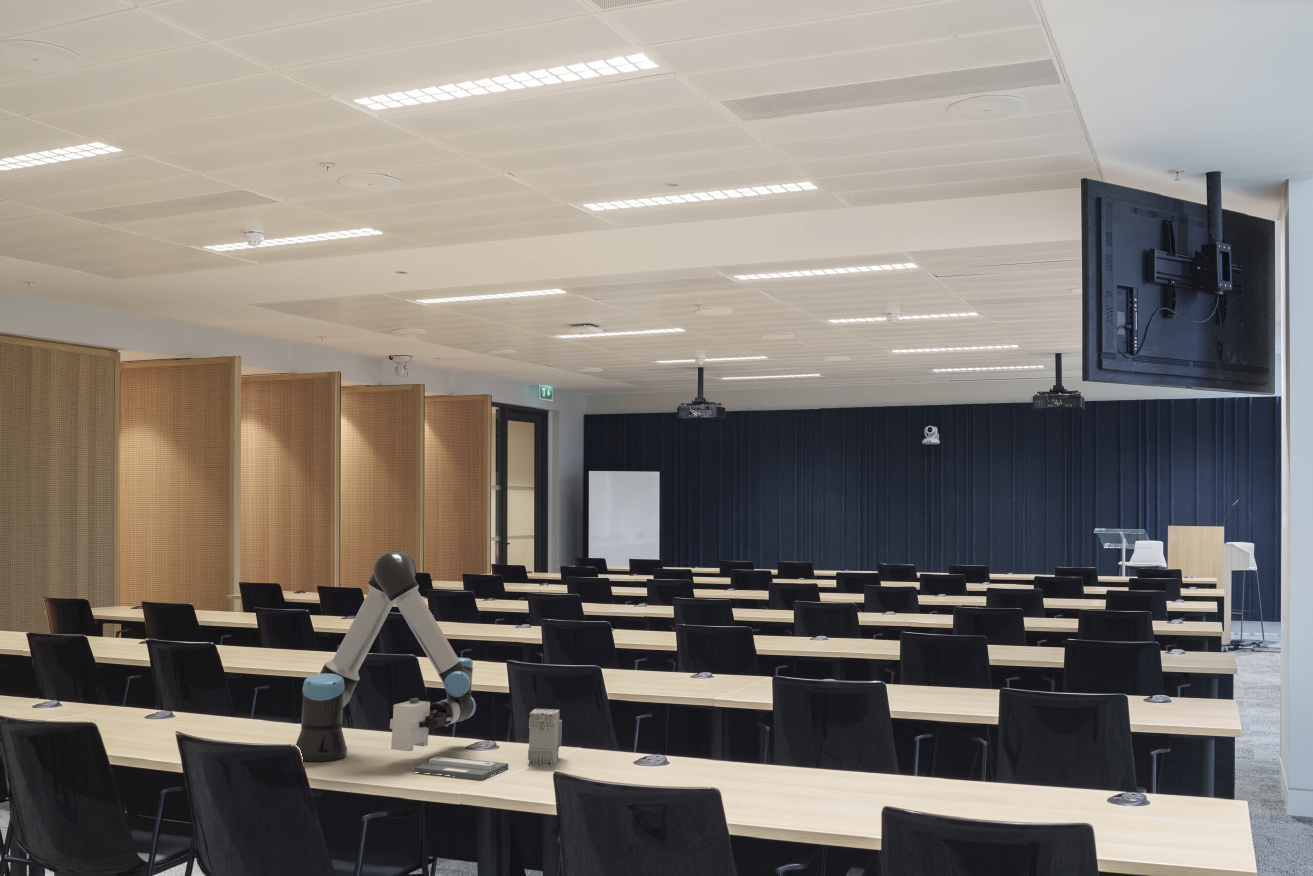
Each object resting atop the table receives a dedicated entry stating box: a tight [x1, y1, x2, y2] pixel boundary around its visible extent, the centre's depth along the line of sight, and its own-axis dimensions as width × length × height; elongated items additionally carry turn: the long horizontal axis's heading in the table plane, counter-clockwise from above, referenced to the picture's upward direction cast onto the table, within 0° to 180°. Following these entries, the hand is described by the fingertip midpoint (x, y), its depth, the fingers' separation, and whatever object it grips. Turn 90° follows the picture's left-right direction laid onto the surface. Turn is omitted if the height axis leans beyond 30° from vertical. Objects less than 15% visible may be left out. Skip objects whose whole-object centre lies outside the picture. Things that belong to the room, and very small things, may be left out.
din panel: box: [414, 756, 509, 781], centre depth 310 cm, size 21×16×3 cm
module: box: [390, 697, 431, 752], centre depth 317 cm, size 6×10×14 cm, turn 161°
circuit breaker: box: [527, 708, 563, 767], centre depth 327 cm, size 8×14×15 cm, turn 174°
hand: (401, 725), depth 312 cm, fingers closed on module, 6 cm apart
